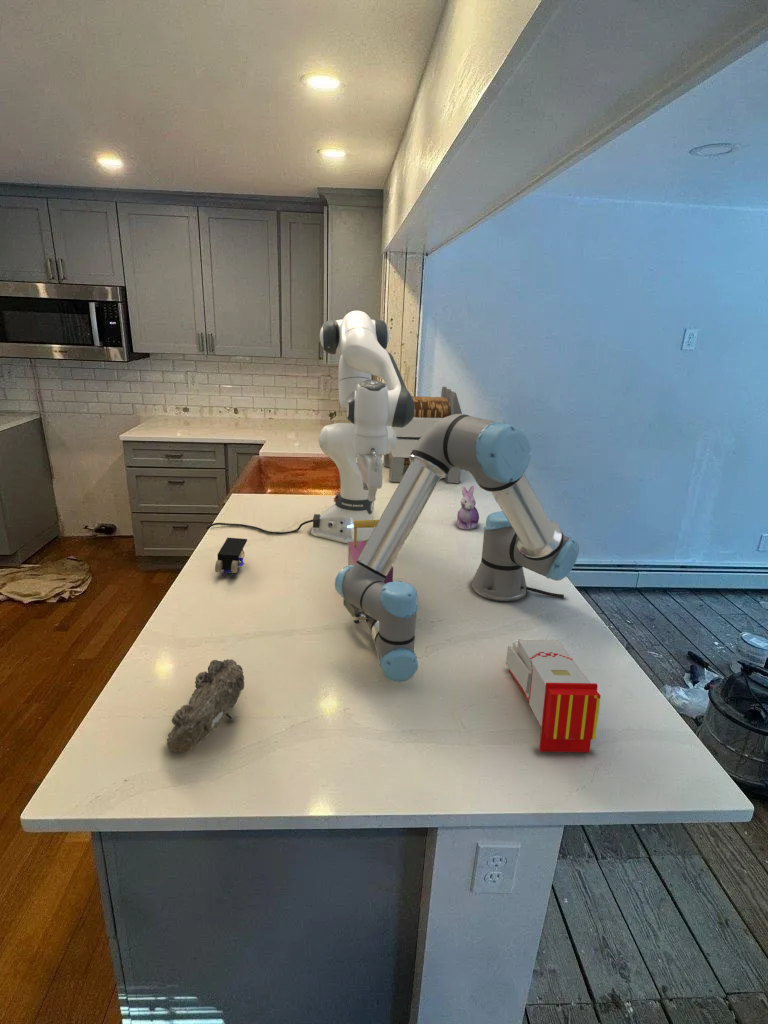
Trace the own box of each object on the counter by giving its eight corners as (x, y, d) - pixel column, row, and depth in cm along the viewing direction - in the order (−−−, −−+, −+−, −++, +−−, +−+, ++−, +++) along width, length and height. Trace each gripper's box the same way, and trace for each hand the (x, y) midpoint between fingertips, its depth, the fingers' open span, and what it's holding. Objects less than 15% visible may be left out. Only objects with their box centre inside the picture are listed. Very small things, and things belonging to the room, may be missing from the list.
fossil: (192, 660, 117) (244, 628, 112) (224, 691, 120) (276, 661, 115) (142, 746, 98) (202, 712, 93) (182, 779, 101) (242, 748, 96)
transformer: (382, 463, 289) (386, 382, 275) (445, 464, 293) (451, 384, 279) (390, 482, 257) (394, 392, 243) (460, 483, 261) (468, 394, 247)
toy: (554, 622, 128) (610, 691, 98) (548, 677, 130) (601, 759, 101) (501, 621, 127) (541, 690, 98) (496, 676, 130) (534, 758, 101)
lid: (348, 545, 160) (348, 516, 157) (381, 544, 162) (382, 515, 159) (356, 573, 144) (357, 541, 141) (393, 571, 145) (394, 540, 142)
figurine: (464, 532, 204) (468, 492, 199) (449, 522, 212) (452, 484, 207) (486, 528, 208) (490, 489, 203) (469, 519, 216) (473, 481, 211)
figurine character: (238, 584, 162) (249, 557, 175) (236, 562, 158) (247, 536, 172) (215, 584, 161) (227, 556, 175) (212, 561, 158) (225, 535, 171)
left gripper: (389, 454, 139) (387, 507, 144) (376, 436, 158) (374, 483, 163) (364, 454, 138) (362, 507, 143) (353, 436, 157) (352, 484, 161)
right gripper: (338, 646, 128) (329, 599, 149) (433, 640, 132) (411, 595, 153) (339, 617, 126) (330, 573, 146) (435, 612, 130) (413, 570, 150)
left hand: (368, 494), depth 153 cm, fingers open, 8 cm apart
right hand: (372, 584), depth 150 cm, fingers closed on chest, 9 cm apart
